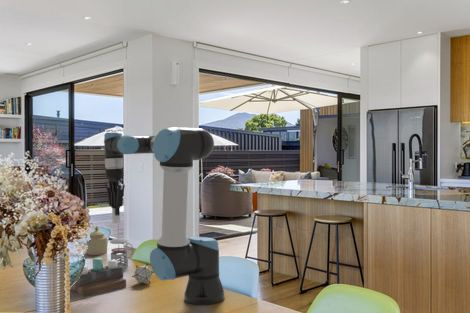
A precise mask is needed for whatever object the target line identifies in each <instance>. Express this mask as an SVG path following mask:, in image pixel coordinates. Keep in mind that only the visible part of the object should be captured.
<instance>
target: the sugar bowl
mask: <svg viewBox="0 0 470 313" xmlns="http://www.w3.org/2000/svg"><path fill="white" fill-rule="evenodd" d="M95 227H96V228H95ZM95 227H94V231H92V232H90V233H89V234H90V235H89V236H90V238H91V240H89V241H87V240H86V246H87V245H88V249H87V248H86V254H87V255H89V256H101V255H106V254H107V253H108V237H107V236H106V235H105V232H103V231H102V230H99V227H98V226H95Z"/></svg>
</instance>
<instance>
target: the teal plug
mask: <svg viewBox="0 0 470 313" xmlns="http://www.w3.org/2000/svg"><path fill="white" fill-rule="evenodd" d="M103 263H104V260H103V257H94V258H92V269H93V271H94V272H98V271H103V267H104V264H103Z"/></svg>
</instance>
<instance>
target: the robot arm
mask: <svg viewBox="0 0 470 313" xmlns="http://www.w3.org/2000/svg"><path fill="white" fill-rule="evenodd" d="M103 144H104V146H103V147H104V168H105V177H106V178H107V179H108V181H107V182H108V183H106V184H105V188H106V193H107V200H108V206H109V207H110V208H111V214H112V216H111V217H112V224H119V223H121V218H120V215H121V214H120V211H121V210H120V208H121V207H123V204H124V203H123V202H124V190H125V187H126V186H125V184H122V179H121V178H123V177H124V156H123V155H139V154H154V155H153V156H154V158H155V159H156V161H158V163H159V166H160V168H161V169H162V170H163V184H162V185H163V186H162V187H163V188H162V212H161V214H162V215H161V216H162V217H161V218H162V220H161V223H162V224H161V237H159V239H157V242H156V243H157V244H156V247H155V248H154V249H152V250H151V252H150V253H149V262H150V267H151V269H152V270H151V271H152V272H153V271H154V273H153V274H154V275H155V276H156V277H157V278H158V279H159V280H161V281H169V280H172V281H173V280H175V279H180V278H184V277H188V281H187V283H186V286H185V291H184V302H187V303H188V304H192V305H201V306H203V305H213V304H217V303H220V302H222V301H223V300H224V299H225V291H224V287H223V285H222V281H221V278H220V258H219V257H220V254H219V253H220V246H219V242H218V240H217V239H215V238H212V237H206V236H191V237H187V217H188V216H187V213H188V190H189V189H188V187H189V186H188V185H189V171H190V170H191V169H192V168H193V165H194V161H198V160H199V161H200V160H203V159H206V158H207V157H209V156H210V155H211V154H212V152H213V151H214V149H215V148H214V147H215V141H214V138H213V135H212V134H211V133H210V132H209V131H208V130H206V129H204V128H199V127H176V126H174V127H165V128H163V129H161V130H159V131H158V133H157V134H156V135H123V133H122V132H117V131H115V132H114V131H113V132H111V131H110V132H106V133H104V140H103Z"/></svg>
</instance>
